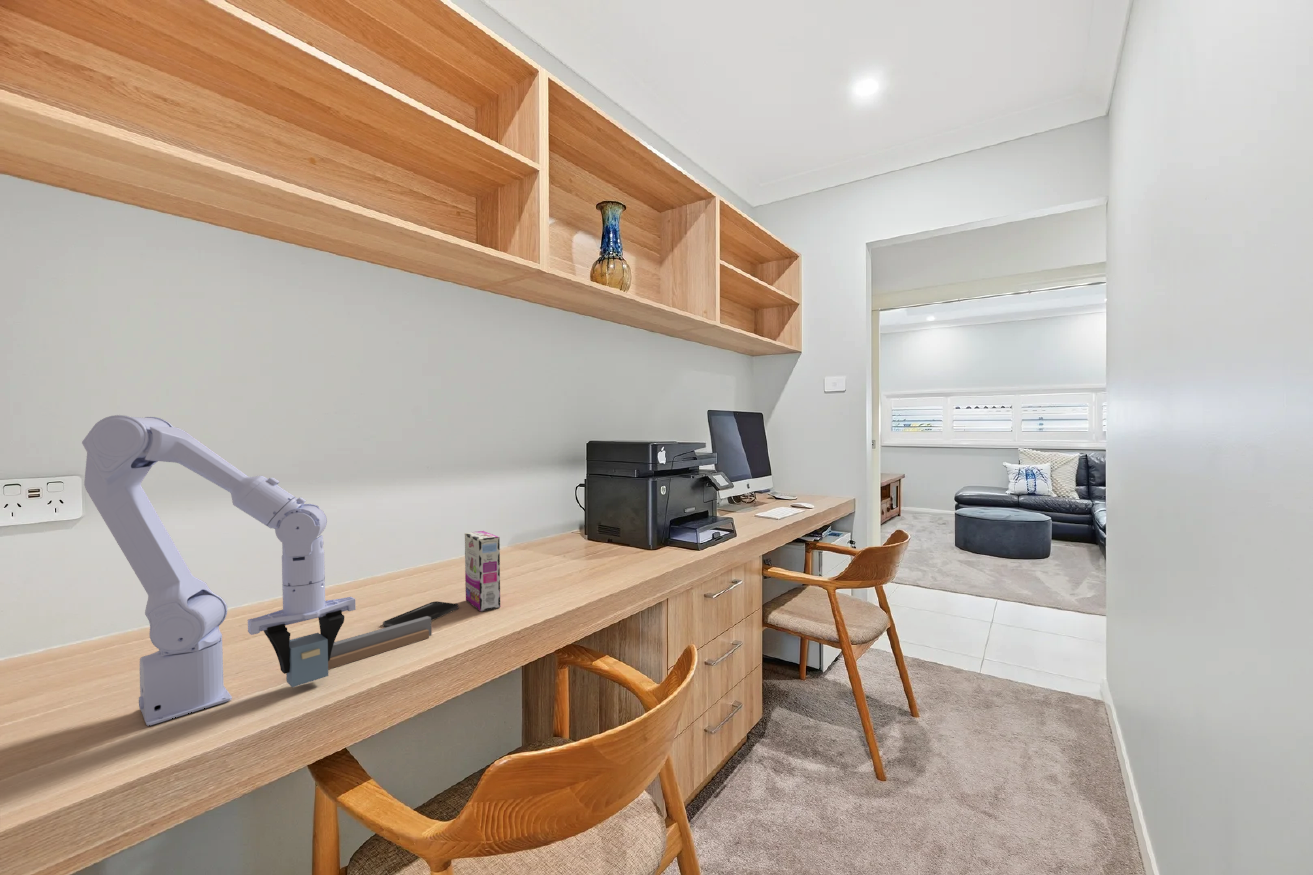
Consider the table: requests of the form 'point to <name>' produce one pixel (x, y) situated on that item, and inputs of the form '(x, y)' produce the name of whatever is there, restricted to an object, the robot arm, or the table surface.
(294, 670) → the cabinet
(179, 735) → the table surface
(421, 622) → the grey and brown bar
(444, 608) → the phone
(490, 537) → the candy bar box
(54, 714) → the table surface
